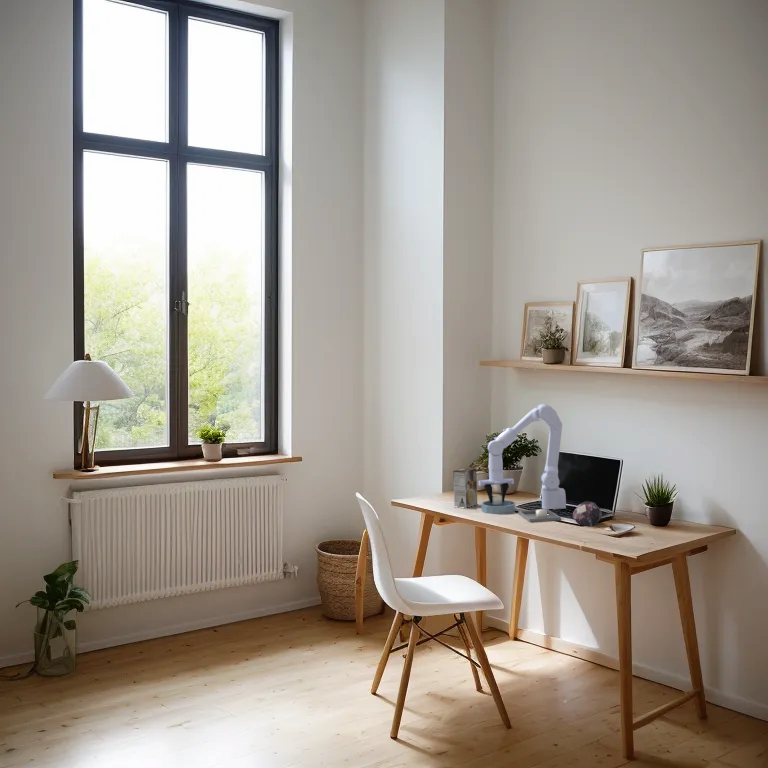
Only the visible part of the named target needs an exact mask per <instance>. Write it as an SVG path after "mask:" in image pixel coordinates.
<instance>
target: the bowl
mask: <svg viewBox="0 0 768 768" xmlns="http://www.w3.org/2000/svg"><path fill="white" fill-rule="evenodd" d="M516 505H517V503H516V502H515V501H514V500H507V499H504V502H502V504H500V505H493V504H492V503H490V502H489V500H485V501H482V502H481V504H480V506H481V512H482V513H484V514H488V515H489V514H491V515H503V514H505V515H507V514H512V513H515V512H516V511H517V509H516V508H517V507H516Z"/></svg>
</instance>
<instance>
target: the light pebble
mask: <svg viewBox="0 0 768 768" xmlns="http://www.w3.org/2000/svg"><path fill="white" fill-rule="evenodd" d="M492 504H493V505H500V504H502V495H501V494H492Z"/></svg>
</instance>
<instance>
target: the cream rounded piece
mask: <svg viewBox="0 0 768 768" xmlns="http://www.w3.org/2000/svg"><path fill="white" fill-rule="evenodd" d="M535 510H536V518H547V510H545V509H543V508H540V509H538V508H537V509H535Z"/></svg>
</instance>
